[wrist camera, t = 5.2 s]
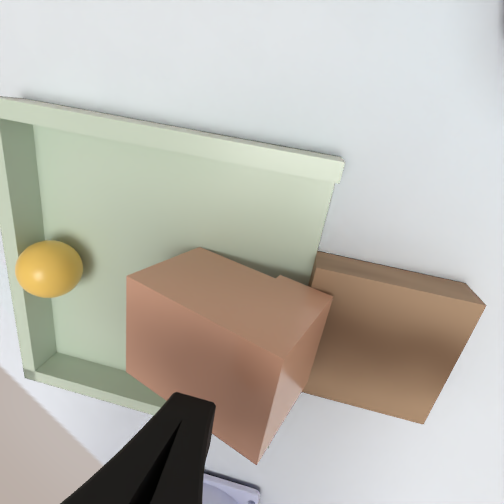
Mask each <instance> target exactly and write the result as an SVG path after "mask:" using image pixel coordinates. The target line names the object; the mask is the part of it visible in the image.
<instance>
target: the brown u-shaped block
mask: <svg viewBox="0 0 504 504" xmlns="http://www.w3.org/2000/svg"><path fill="white" fill-rule="evenodd" d="M332 300H333V296H331V295H328V294H326V293H323V292H321V291H319V290H316V289H314V288H311V287H309V286H306V285H304V284H301V283H299V282H297V281H294V280H292V279H289V278H287V277H284V276H282V275H279V276H278V277H277V278H273V277H271V276H268V275H266V274H264V273H261V272H259V271H256V270H254V269H252V268H249V267H247V266H244V265H242V264H240V263H237V262H235V261H232V260H230V259H228V258H225V257H223V256H221V255H218V254H216V253H213V252H211V251H209V250H206V249H204V248H201V247H198V248H195V249H193V250H190V251H188V252H185V253H183V254H180V255H178V256H175V257H173V258H170V259H168V260H165V261H163V262H160V263H157V264H155V265H152V266H150V267H147V268H145V269H142V270H140V271H137V272H135V273H132V274H130V275H127V276H126V372H127V373H128V374H130V375H131V376H133V377H134V378H135V379H137V380H138V381H139V382H141V383H142V384H144V385H145V386H146V387H148V388H149V389H151V390H152V391H153V392H155V393H156V394H158V395H159V396H160V397H162V398H163V399H165V400H166V401H167V400H168V399H169V398H170V396H171V395H172V394H173V393H175V392H179V393H182V394H186V395H190V396H193V397H197V398H200V399H204V400H207V401H211V402H214V404H215V405H216V410H215V416H214V422H213V428H212V434H214V435H215V436H216V437H218V438H219V439H221V440H222V441H223V442H225V443H226V444H228V445H229V446H230V447H232V448H233V449H235V450H236V451H237V452H239V453H240V454H242V455H243V456H244V457H246V458H247V459H249V460H250V461H251V462H253V463H254V464H256V465H257V464H258V462H259V461H260V459H261V457H262V456H263V454H264V452H265V451H266V449H267V448H268V446H269V444H270V443H271V441H272V439H273V438H274V436H275V435H276V433H277V431H278V430H279V428H280V426H281V425H282V423H283V421H284V420H285V418H286V417H287V415H288V413H289V412H290V410H291V408H292V407H293V405H294V403H295V402H296V400H297V399H298V397H299V395H300V394H301V392H302V390H303V389H304V387H305V385H306V384H307V382H308V378H309V375H310V372H311V368H312V365H313V362H314V359H315V355H316V352H317V349H318V346H319V342H320V339H321V336H322V333H323V329H324V326H325V323H326V319H327V316H328V313H329V310H330V306H331V303H332Z"/></svg>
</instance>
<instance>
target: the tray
mask: <svg viewBox="0 0 504 504" xmlns="http://www.w3.org/2000/svg"><path fill="white" fill-rule="evenodd" d="M344 165H345V162H344V160H343V159H342V158H341V157H339V156H334V155H328V154H323V153H317V152H312V151H306V150H301V149H296V148H290V147H285V146H279V145H274V144H268V143H263V142H257V141H252V140H247V139H241V138H236V137H230V136H225V135H219V134H214V133H209V132H203V131H198V130H192V129H187V128H181V127H176V126H170V125H165V124H160V123H154V122H149V121H143V120H138V119H132V118H127V117H121V116H116V115H111V114H105V113H100V112H94V111H89V110H83V109H78V108H73V107H67V106H62V105H56V104H51V103H45V102H40V101H34V100H29V99H24V98H14V97H2V96H0V229H1V235H2V241H3V247H4V253H5V259H6V265H7V272H8V278H9V284H10V290H11V296H12V302H13V309H14V315H15V321H16V327H17V333H18V339H19V346H20V352H21V358H22V364H23V370H24V376H25V378H27V379H30V380H34V381H37V382H41V383H44V384H48V385H51V386H55V387H58V388H61V389H65V390H68V391H72V392H75V393H79V394H82V395H86V396H89V397H93V398H96V399H99V400H103V401H106V402H110V403H113V404H117V405H120V406H124V407H127V408H130V409H134V410H137V411H141V412H144V413H148V414H151V415H155V414H156V413H157V412H158V410H159V409H160V408H161V407H162V406H163V405H164V404H165V402H166V400H165V399H163V398H162V397H160V396H159V395H158V394H156V393H155V392H153V391H152V390H151V389H149V388H148V387H146V386H145V385H144V384H142V383H141V382H139V381H138V380H137V379H135V378H134V377H133V376H131V375H130V374H128V373H127V372H126V276H127V275H130V274H132V273H135V272H137V271H140V270H142V269H145V268H147V267H150V266H152V265H155V264H157V263H160V262H163V261H165V260H168V259H170V258H173V257H175V256H178V255H180V254H183V253H185V252H188V251H190V250H193V249H195V248H198V247H201V248H204V249H206V250H209V251H211V252H213V253H216V254H218V255H221V256H223V257H225V258H228V259H230V260H232V261H235V262H237V263H240V264H242V265H244V266H247V267H249V268H252V269H254V270H256V271H259V272H261V273H264V274H266V275H268V276H271V277H273V278H277V277H278V276H279V275H282V276H284V277H287V278H289V279H292V280H294V281H297V282H299V283H301V284H304V285H306V286H308V284H309V280H310V276H311V273H312V269H313V265H314V261H315V257H316V254H317V250H318V246H319V242H320V238H321V235H322V231H323V227H324V223H325V219H326V215H327V212H328V208H329V204H330V200H331V196H332V193H333V189H334V185H335V183H338V184H339V183H340V180H341V176H342V172H343V168H344ZM46 240H55V241H60V242H63V243H66V244H68V245H69V246H71V247H72V248H74V249H75V250H76V251H77V253H78V254H79V255H80V257H81V260H82V263H83V274H82V277H81V279H80V281H79V283H78V284H77V286H76V287H75V288H74V289H72V290H71V291H70V292H68V293H66V294H64V295H62V296H59V297H54V298H42V297H37V296H35V295H32V294H30V293H28V292H27V291H25V290H24V289H23V288H22V287H21V285H20V284H19V283H18V281H17V278H16V275H15V265H16V261H17V259H18V257H19V256H20V254H21V253H22V252H23V251H24V250H25V249H26V248H27V247H29V246H30V245H32V244H34V243H37V242H40V241H46ZM269 445H270V444H269ZM268 448H269V446H268Z"/></svg>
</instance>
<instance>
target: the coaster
mask: <svg viewBox="0 0 504 504" xmlns="http://www.w3.org/2000/svg"><path fill="white" fill-rule="evenodd" d="M308 286H309V287H311V288H314V289H316V290H319V291H321V292H323V293H326V294H328V295H331V296H333V300H332V303H331V306H330V310H329V313H328V316H327V319H326V323H325V326H324V329H323V333H322V336H321V339H320V342H319V346H318V349H317V352H316V355H315V359H314V362H313V365H312V368H311V372H310V375H309V378H308V382H307V384H306V385H305V387H304V389H303V390H302V392H304V393H308V394H311V395H315V396H319V397H323V398H326V399H330V400H334V401H338V402H341V403H345V404H349V405H352V406H356V407H360V408H364V409H367V410H371V411H375V412H379V413H382V414H386V415H390V416H394V417H397V418H401V419H405V420H409V421H412V422H416V423H420V424H424V422H425V420H426V418H427V416H428V415H429V413H430V411H431V409H432V407H433V405H434V403H435V401H436V400H437V398H438V396H439V394H440V392H441V390H442V388H443V386H444V384H445V383H446V381H447V379H448V377H449V375H450V373H451V371H452V369H453V368H454V366H455V364H456V362H457V360H458V358H459V356H460V354H461V352H462V351H463V349H464V347H465V345H466V343H467V341H468V339H469V337H470V336H471V334H472V332H473V330H474V328H475V326H476V324H477V322H478V320H479V319H480V317H481V315H482V313H483V311H484V309H485V307H486V305H485V304H484V303H483V301H482V300H481V299H480V298H479V297H478V296H477V295H476V294H475V293H474V292H473V291H472V290H471V289H470V288H469V286H468V285H467V284H466V283H462V282H457V281H452V280H448V279H443V278H439V277H434V276H430V275H425V274H420V273H416V272H411V271H407V270H402V269H397V268H393V267H388V266H384V265H379V264H374V263H370V262H365V261H361V260H356V259H351V258H347V257H342V256H338V255H333V254H328V253H324V252H319V251H317V254H316V257H315V261H314V265H313V269H312V273H311V276H310V280H309V284H308Z"/></svg>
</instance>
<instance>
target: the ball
mask: <svg viewBox="0 0 504 504" xmlns="http://www.w3.org/2000/svg"><path fill="white" fill-rule="evenodd" d="M82 274H83V263H82V260H81V257H80V255H79V254H78V253H77V251H76V250H75V249H74V248H72V247H71V246H69V245H68V244H66V243H63V242H60V241H55V240H46V241H40V242H37V243H34V244H32V245H30V246H29V247H27V248H26V249H25V250H24V251H23V252H22V253H21V254H20V256H19V257H18V259H17V261H16V265H15V275H16V278H17V281H18V283H19V284H20V285H21V287H22V288H23V289H24V290H25V291H27V292H28V293H30V294H32V295H35V296H37V297H42V298H54V297H59V296H62V295H64V294H66V293H68V292H70V291H71V290H72V289H74V288H75V287H76V286H77V284H78V283H79V281H80V279H81V277H82Z"/></svg>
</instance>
